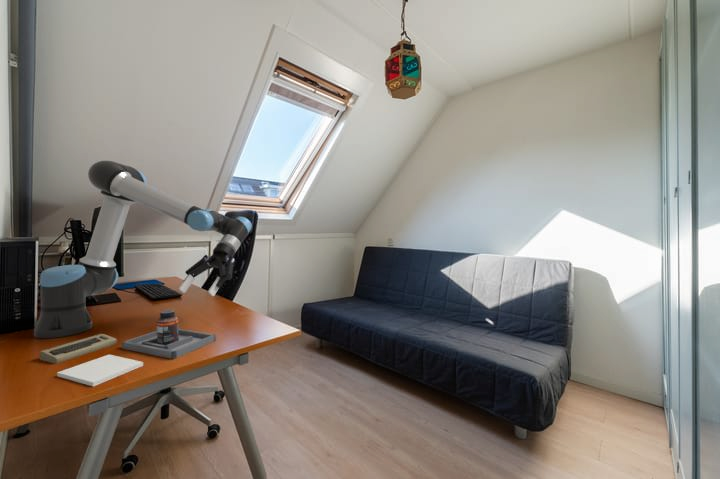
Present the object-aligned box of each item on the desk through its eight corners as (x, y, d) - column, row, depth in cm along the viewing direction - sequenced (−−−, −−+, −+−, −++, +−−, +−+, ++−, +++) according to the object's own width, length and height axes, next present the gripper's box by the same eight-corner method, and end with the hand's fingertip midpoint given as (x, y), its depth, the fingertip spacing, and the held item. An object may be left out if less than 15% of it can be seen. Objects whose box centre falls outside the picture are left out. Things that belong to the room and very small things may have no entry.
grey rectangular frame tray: (121, 348, 96) (121, 342, 96) (168, 332, 111) (168, 326, 111) (173, 359, 89) (173, 352, 89) (216, 340, 104) (216, 334, 104)
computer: (56, 365, 85) (56, 354, 84) (38, 361, 87) (38, 349, 87) (117, 345, 99) (117, 335, 99) (100, 342, 102) (100, 332, 102)
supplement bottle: (174, 340, 103) (174, 307, 103) (181, 345, 100) (181, 310, 99) (154, 345, 99) (153, 311, 98) (161, 350, 95) (160, 314, 94)
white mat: (57, 376, 78) (57, 372, 78) (109, 357, 89) (109, 354, 89) (93, 386, 73) (93, 382, 73) (143, 365, 84) (143, 362, 84)
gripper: (256, 255, 121) (229, 301, 107) (207, 253, 129) (176, 295, 115) (247, 242, 116) (217, 289, 102) (197, 241, 124) (163, 284, 110)
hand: (195, 292), depth 109 cm, fingers open, 13 cm apart
